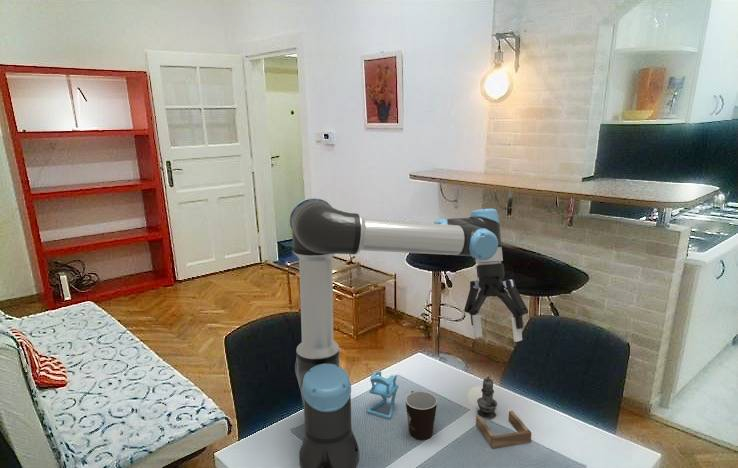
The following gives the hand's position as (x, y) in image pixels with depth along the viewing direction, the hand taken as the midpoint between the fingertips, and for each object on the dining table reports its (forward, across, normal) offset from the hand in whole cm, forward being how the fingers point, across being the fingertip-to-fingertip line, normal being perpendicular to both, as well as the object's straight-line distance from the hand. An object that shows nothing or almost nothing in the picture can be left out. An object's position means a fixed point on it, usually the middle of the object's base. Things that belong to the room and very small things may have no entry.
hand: (497, 339), depth 126 cm
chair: (+20, +28, +20) cm, 40 cm away
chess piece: (+23, +8, -2) cm, 24 cm away
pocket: (+25, 0, +2) cm, 25 cm away
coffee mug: (+23, +15, +18) cm, 33 cm away
